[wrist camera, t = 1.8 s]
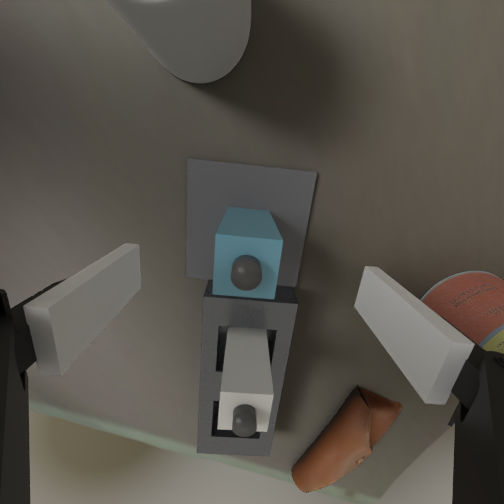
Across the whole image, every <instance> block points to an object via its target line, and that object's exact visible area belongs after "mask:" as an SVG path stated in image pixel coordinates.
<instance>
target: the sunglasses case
mask: <svg viewBox="0 0 504 504" xmlns="http://www.w3.org/2000/svg"><path fill="white" fill-rule="evenodd" d="M401 408H402V406H401V404H400V403H398V402H393V401H391V400H389V399H386V398H384V397H382V396H379V395H376V394H374V393H372V392H369V391H367V390H365V389H362V388H358V386H357V388H356V389H355V390H353V391H352V392H351V394H350V395H349V397H348V398H347V399H346V401H345V402H344V404H343V405H342V406H341V408H340V409H339V411H338V413H337V414H336V415H335V416H334V418H333V419H332V421H331V422H330V424H329V425H328V426H327V427H326V428H325V429H324V430H323V432H322V433H321V434H320V435H319V436H318V438H317V439H316V440H315V442H314V443H313V444H312V445H311V446H310V447H309V448H308V450H307V451H306V452H305V453H304V455H303V456H302V457H301V458H300V459H299V460H298V462H297V463H296V464H295V465H294V466H293V467H292V469H291V470H292V477H293V480H294V482H295V484H296V485H297V487H298V488H299V489H300V490H302V491H303V492H306V493H307V492H311V491H315V490H318V489H321V488H323V487H326V486H328V485H330V484H332V483H334V482H335V481H337V480H339V479H340V478H342V477H343V476H345V475H346V474H347V473H349V472H350V471H351V470H353V469H355V468H356V467H358V466H359V465H360V464H361V463H362V462H363V461H364V460H365V459H366V458H367V457H368V456H369V455H370V454H371V453H372V447H373V446H374V445H375V444H376V443H377V441H379V439H380V438H381V437H382V436H383V435H384V434H385V432H386V431H387V430H388V429H389V427H390V426H391V425H392V423H393V422H394V420H395V419H396V418H397V416H398V415H399V413H400V411H401Z"/></svg>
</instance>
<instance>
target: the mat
mask: <svg viewBox="0 0 504 504" xmlns="http://www.w3.org/2000/svg"><path fill="white" fill-rule="evenodd" d="M316 176H317V172H311V171H302V170H293V169H284V168H275V167H265V166H256V165H247V164H238V163H229V162H220V161H210V160H201V159H192V158H187V208H186V278H196V279H208V280H213V274H214V255H215V237H216V232H217V230H218V228H219V226H220V224H221V221H222V219H223V217H224V215H225V213H226V210H227V208H228V207H238V208H248V209H258V210H268V211H270V213H271V216H272V218H273V220H274V222H275V224H276V226H277V228H278V230H279V233H280V235H281V237H282V239H283V245H282V252H281V258H280V265H279V272H278V278H277V285H279V286H291V287H296V286H297V280H298V275H299V269H300V264H301V258H302V253H303V247H304V242H305V236H306V231H307V225H308V220H309V214H310V209H311V203H312V198H313V192H314V187H315V181H316Z"/></svg>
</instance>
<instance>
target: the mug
mask: <svg viewBox="0 0 504 504" xmlns="http://www.w3.org/2000/svg"><path fill="white" fill-rule="evenodd" d="M107 1H108V3H109V4H110V5H111V6H112V7H113V8H114V10H115V11H116V12H117V13H118V14H119V15H120V17H121V18H122V19H123V20H124V21H125V22H126V24H127V25H128V26H129V27H130V28H131V29H132V31H133V32H134V33H135V34H136V35H137V36H138V38H139V39H140V40H141V41H142V42H143V43H144V45H145V46H146V47H147V48H148V50H149V51H150V52H151V54H152V55H153V56H154V57H155V58H156V60H157V61H158V62H159V63H160V64H161V65H162V66H163V67H164V68H165V69H166V70H167V71H168V72H170V73H171V74H173V75H174V76H176V77H178V78H180V79H182V80H185V81H187V82H192V83H209V82H213V81H216V80H218V79H220V78H222V77H224V76H225V75H227V74H228V73H229V72H230V71H231V70H232V69H233V68H234V67H235V66H236V65H237V63H238V62H239V60H240V59H241V57H242V55H243V53H244V51H245V49H246V46H247V43H248V39H249V34H250V27H251V0H107Z"/></svg>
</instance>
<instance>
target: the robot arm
mask: <svg viewBox="0 0 504 504" xmlns="http://www.w3.org/2000/svg"><path fill="white" fill-rule="evenodd" d="M140 289H141V269H140V249H139V244H130V243H125V244H123V245H122V246H120V247H118V248H117V249H115V250H113V251H112V252H110V253H109V254H107V255H105V256H104V257H102V258H100V259H99V260H97V261H96V262H94V263H92V264H91V265H89V266H87V267H86V268H84V269H83V270H81V271H79V272H78V273H76V274H74V275H73V276H71V277H69V278H68V279H64V280H62V281H59V282H56V283H53V284H51V285H50V286H48V287H46V288H45V289H43V291H40V292H38V293H36V294H35V295H34V296H31V297H30V298H28V299H26V300H24V301H23V302H21V303H19V304H18V305H16V306H14V307H13V308H11V309H10V305H9V301H8V297H7V293H6V291H5V290H3V289H0V504H30V466H29V465H30V462H29V403H28V376H27V372H26V370H27V369H28V368H29V367H30V366H31V365H32V364H33V363H34V362H35V361H36V364H37V368H38V372H39V375H50V376H62V375H63V374H64V373H65V372H66V371H67V370H68V369H69V368H70V366H71V365H72V364H73V363H74V362H75V361H76V360H77V359H78V358H79V356H80V355H81V354H82V353H83V352H84V351H85V350H86V349H87V348H88V346H89V345H90V344H91V343H92V342H93V341H94V340H95V339H96V338H97V336H98V335H99V334H100V333H101V332H102V331H103V330H104V329H105V328H106V326H107V325H108V324H109V323H110V322H111V321H112V320H113V319H114V318H115V316H116V315H117V314H118V313H119V312H120V311H121V310H122V309H123V308H124V307H125V305H126V304H127V303H128V302H129V301H130V300H131V299H132V298H133V297H134V295H135V294H136V293H137V292H138V291H139V290H140ZM354 307H355V308H356V310H357V311H358V313H359V314H360V315H361V317H362V318H363V319H364V321H365V322H366V323H367V325H368V326H369V328H370V329H371V330H372V332H373V333H374V334H375V336H376V337H377V338H378V340H379V341H380V342H381V344H382V345H383V347H384V348H385V349H386V351H387V352H388V353H389V355H390V356H391V357H392V359H393V360H394V362H395V363H396V364H397V366H398V367H399V368H400V370H401V371H402V372H403V374H404V375H405V377H406V378H407V379H408V381H409V382H410V383H411V385H412V386H413V387H414V389H415V390H416V392H417V393H418V394H419V396H420V397H421V398H422V400H423V401H424V402H425V403H426V404H440V405H445V404H446V402H447V400H448V398H449V396H450V394H451V392H452V393H453V394H454V395H455V396H456V397H457V398H458V399H459V401H460V402H459V404H458V406H457V408H456V410H455V412H454V414H453V415H452V417H451V419H450V421H449V423H448V425H450V426H451V427H452V425H453V424H454V423H455V444H454V446H455V447H454V471H453V473H454V474H453V501H452V504H504V354H503V353H500V352H496V351H486V350H484V349H483V348H482V347H480V346H479V345H478V344H477V343H475V342H474V341H473V340H472V339H470V338H469V337H468V336H466V335H465V334H464V333H463V332H460V330H459V329H458V328H456V327H455V326H452V324H451V323H450V322H449V321H447V320H446V319H445V318H444V317H442V316H440V315H438V314H437V313H435V312H434V311H433V310H431V309H430V308H429V307H428V306H426V305H425V304H424V303H423V302H421V301H420V300H419V299H417V298H416V297H415V296H414V295H412V294H411V293H410V292H409V291H407V290H406V289H405V288H404V287H402V286H401V285H400V284H399V283H397V282H396V281H395V280H394V279H392V278H391V277H390V276H389V275H387V274H386V273H385V272H384V271H382V270H381V269H380V268H379V267H372V266H365V269H364V272H363V276H362V280H361V283H360V287H359V291H358V294H357V298H356V301H355V305H354Z"/></svg>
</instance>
